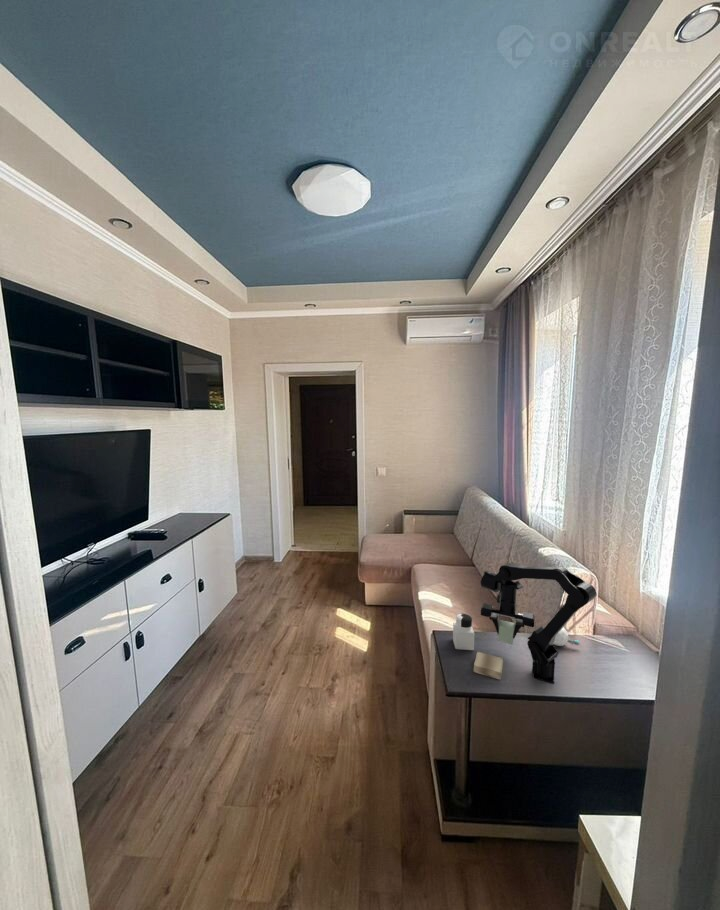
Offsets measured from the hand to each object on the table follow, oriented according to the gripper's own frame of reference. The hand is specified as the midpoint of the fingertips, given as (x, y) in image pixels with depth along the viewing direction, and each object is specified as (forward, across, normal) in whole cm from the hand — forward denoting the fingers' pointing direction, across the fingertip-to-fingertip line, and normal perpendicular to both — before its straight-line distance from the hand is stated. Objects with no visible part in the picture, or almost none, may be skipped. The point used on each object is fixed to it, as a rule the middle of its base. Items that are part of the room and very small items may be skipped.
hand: (506, 636), depth 140 cm
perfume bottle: (+8, -20, -19) cm, 29 cm away
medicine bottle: (+8, +16, 0) cm, 18 cm away
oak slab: (+8, +5, +11) cm, 15 cm away
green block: (+1, 0, 0) cm, 1 cm away
